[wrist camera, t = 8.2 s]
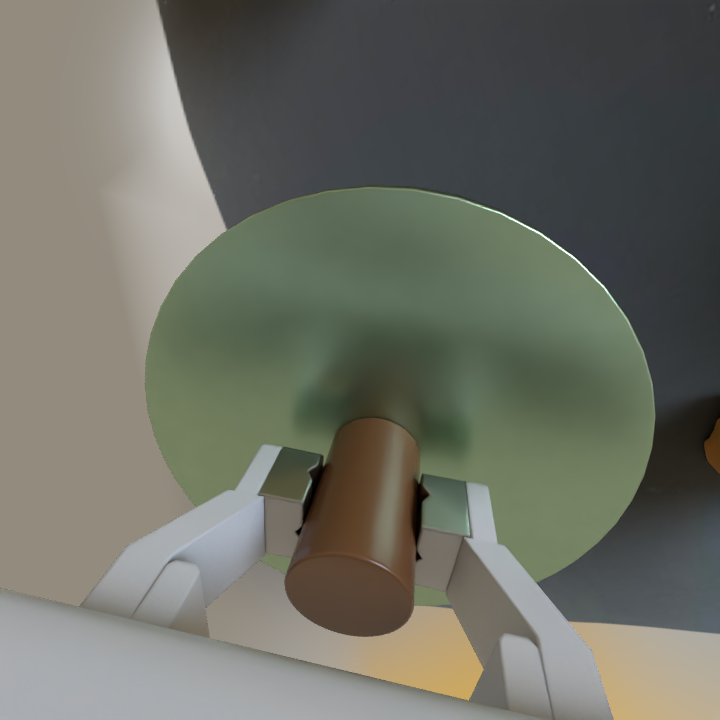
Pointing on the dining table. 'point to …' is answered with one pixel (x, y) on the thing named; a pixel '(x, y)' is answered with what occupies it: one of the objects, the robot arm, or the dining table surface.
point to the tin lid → (402, 385)
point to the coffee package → (713, 447)
